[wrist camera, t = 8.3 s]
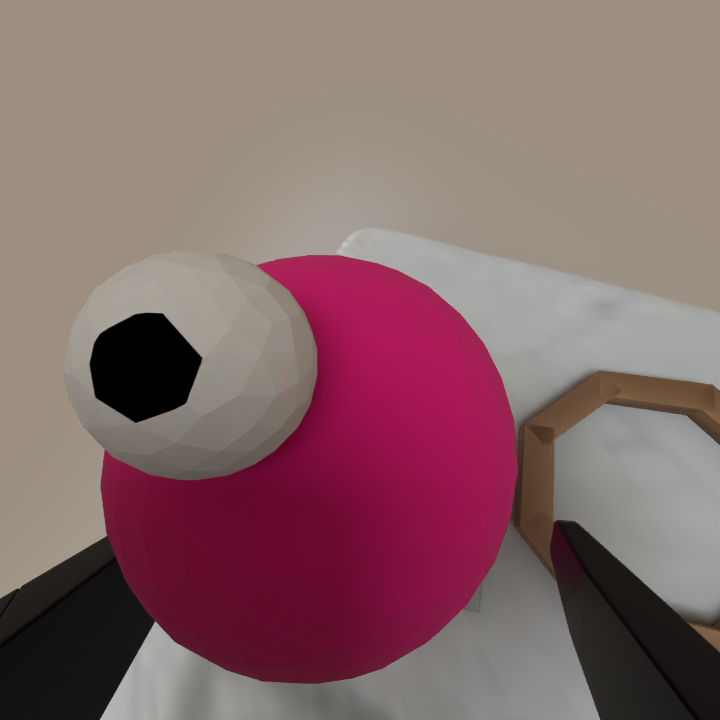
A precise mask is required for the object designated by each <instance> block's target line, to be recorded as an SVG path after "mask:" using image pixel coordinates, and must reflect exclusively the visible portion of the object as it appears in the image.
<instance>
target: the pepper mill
mask: <svg viewBox="0 0 720 720" xmlns="http://www.w3.org/2000/svg"><path fill="white" fill-rule="evenodd" d="M64 375H65V381H66V387H67V392H68V398H69V400H70V402H71V403H72V405H73V407H74V409H75V411H76V413H77V414H78V417H79V418H80V421H81V422H82V424H83V426H84V428H85V429H86V430H87V431H88V432H89V433H90V434H91V435H92V436H93V437H94V438H95V439H96V440H97V442H98V443H99V444H100V445H101V446H102V447H103V448H104V449H105V452H104V460H103V469H102V478H101V493H102V501H103V509H104V517H105V524H106V533H107V536H108V539H109V541H110V544H111V546H112V549H113V551H114V553H115V556H116V558H117V561H118V563H119V566H120V568H121V571H122V573H123V576H124V578H125V581H126V583H127V584H128V585H129V587H130V588H131V590H132V591H133V593H134V594H135V596H136V597H137V599H138V600H139V601H140V603H141V604H142V606H143V607H144V609H145V610H146V612H147V613H148V614H149V615H150V616H151V617H152V618H153V619H154V620H155V621H156V622H157V623H158V624H159V625H160V627H161V628H162V629H163V630H164V631H165V632H166V633H167V634H168V635H169V636H170V637H171V638H172V639H173V640H174V642H176V643H178V644H180V645H181V646H183V647H185V648H187V649H189V650H190V651H192V652H194V653H196V654H198V655H200V656H201V657H203V658H205V659H207V660H209V661H211V662H212V663H214V664H216V665H218V666H220V667H222V668H224V669H225V670H228V671H231V672H234V673H237V674H241V675H244V676H247V677H250V678H254V679H257V680H260V681H266V682H285V683H311V684H318V683H324V682H331V681H338V680H344V679H351V678H355V677H358V676H361V675H364V674H367V673H370V672H373V671H376V670H379V669H382V668H384V667H386V666H387V665H389V664H391V663H393V662H394V661H396V660H398V659H399V658H401V657H403V656H404V655H406V654H408V653H410V652H411V651H413V650H415V649H416V648H418V647H420V646H422V645H423V644H425V643H426V642H428V641H429V640H430V639H431V638H432V637H434V636H435V635H436V634H437V633H438V632H439V631H441V630H442V629H443V628H444V627H445V626H446V625H447V624H448V623H449V622H450V621H451V620H452V619H453V618H454V617H455V616H456V615H457V614H458V613H459V612H460V611H461V610H462V609H463V608H464V607H465V606H466V605H467V604H468V603H469V601H470V600H471V598H472V597H473V595H474V593H475V592H476V590H477V589H478V587H479V586H480V584H481V582H482V581H483V579H484V578H485V576H486V575H487V573H488V571H489V570H490V568H491V567H492V565H493V564H494V561H495V559H496V556H497V553H498V550H499V548H500V545H501V542H502V540H503V537H504V534H505V532H506V529H507V526H508V524H509V521H510V518H511V511H512V505H513V499H514V492H515V486H516V480H517V473H518V462H517V450H516V439H515V427H514V419H513V415H512V412H511V409H510V405H509V402H508V399H507V395H506V392H505V388H504V385H503V382H502V378H501V376H500V374H499V372H498V370H497V368H496V366H495V364H494V362H493V360H492V358H491V356H490V354H489V353H488V351H487V349H486V347H485V345H484V343H483V342H482V340H481V339H480V338H479V337H478V335H477V334H476V333H475V332H474V330H473V329H472V328H471V327H470V325H469V324H468V323H467V322H466V320H465V319H464V318H463V317H462V315H461V314H460V313H459V312H457V311H456V310H455V309H454V308H453V307H452V306H451V305H449V304H448V303H447V302H446V301H445V300H444V299H442V298H441V297H440V296H439V295H438V294H437V293H435V292H434V291H433V290H432V289H431V288H430V287H428V286H427V285H425V284H423V283H421V282H419V281H417V280H415V279H413V278H411V277H409V276H407V275H405V274H404V273H402V272H400V271H398V270H395V269H392V268H389V267H386V266H383V265H381V264H378V263H373V262H368V261H364V260H359V259H354V258H349V257H344V256H340V255H308V256H300V257H292V258H285V259H278V260H274V261H270V262H266V263H263V264H259V265H255V264H252V263H249V262H247V261H244V260H241V259H238V258H235V257H232V256H230V255H227V254H222V253H216V252H206V251H196V250H184V251H176V252H169V253H162V254H156V255H154V256H151V257H149V258H146V259H143V260H141V261H138V262H136V263H133V264H131V265H129V266H126V267H125V268H124V269H122V270H121V271H119V272H118V273H117V274H115V275H114V276H112V277H111V278H110V279H108V280H107V281H105V282H104V283H103V284H101V285H100V286H98V287H97V288H96V289H95V290H94V291H93V293H92V295H91V296H90V298H89V299H88V301H87V302H86V304H85V305H84V307H83V308H82V310H81V311H80V313H79V314H78V316H77V317H76V319H75V321H74V323H73V326H72V329H71V332H70V334H69V337H68V345H67V354H66V362H65V371H64Z"/></svg>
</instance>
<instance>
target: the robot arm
mask: <svg viewBox="0 0 720 720" xmlns="http://www.w3.org/2000/svg"><path fill="white" fill-rule="evenodd" d="M550 555H551V560H552V564H553V568H554V572H555V576H556V580H557V584H558V588H559V592H560V596H561V600H562V604H563V608H564V612H565V616H566V620H567V624H568V628H569V632H570V635H571V638H572V641H573V644H574V647H575V650H576V653H577V655H578V658H579V661H580V664H581V667H582V669H583V672H584V675H585V678H586V681H587V683H588V686H589V689H590V692H591V695H592V698H593V700H594V703H595V706H596V709H597V712H598V714H599V717H600V720H720V652H719V651H718V650H717V649H716V648H715V647H714V646H713V645H712V644H711V643H710V642H708V641H707V640H706V639H705V638H704V637H703V636H702V635H701V634H700V633H699V632H697V631H696V630H695V629H694V628H693V627H692V626H691V625H690V624H689V623H687V622H686V621H685V620H684V619H683V618H682V617H681V616H680V615H679V614H678V613H676V612H675V611H674V610H673V609H672V608H671V607H670V606H669V605H668V604H666V603H665V602H664V601H663V600H662V599H661V598H660V597H659V596H658V595H657V594H655V593H654V592H653V591H652V590H651V589H650V588H649V587H648V586H647V585H645V584H644V583H643V582H642V581H641V580H640V579H639V578H638V577H637V576H636V575H634V574H633V573H632V572H631V571H630V570H629V569H628V568H627V567H626V566H624V565H623V564H622V563H621V562H620V561H619V560H618V559H617V558H616V557H615V556H613V555H612V554H611V553H610V552H609V551H608V550H607V549H606V548H605V547H604V546H602V545H601V544H600V543H599V542H598V541H597V540H596V539H595V538H594V537H592V536H591V535H590V534H589V533H588V532H587V531H586V530H585V529H584V528H583V527H581V526H580V525H579V524H578V523H576V522H574V521H564V520H557V521H555V523H554V526H553V532H552V537H551V543H550ZM154 622H155V620H154V619H153V618H152V617H151V616H150V615H149V614H148V613H147V612H146V610H145V609H144V607H143V606H142V604H141V603H140V601H139V600H138V599H137V597H136V596H135V594H134V593H133V591H132V590H131V588H130V587H129V585H128V584H127V583H126V581H125V578H124V576H123V573H122V571H121V568H120V566H119V563H118V561H117V558H116V556H115V553H114V551H113V549H112V546H111V544H110V541H109V539H108V536H106V537H105V538H103V539H101V540H100V541H98V542H96V543H94V544H93V545H91V546H89V547H88V548H86V549H84V550H82V551H81V552H79V553H77V554H76V555H74V556H72V557H71V558H69V559H67V560H65V561H64V562H62V563H60V564H58V565H57V566H55V567H53V568H52V569H50V570H48V571H47V572H45V573H43V574H41V575H40V576H38V577H36V578H35V579H33V580H31V581H30V582H28V583H26V584H24V585H23V586H22V587H21V588H20V589H16V590H14V591H12V592H11V593H9V594H8V595H6V596H4V597H2V598H1V599H0V720H100V718H101V717H102V715H103V713H104V711H105V710H106V708H107V706H108V704H109V702H110V701H111V699H112V697H113V695H114V694H115V692H116V690H117V688H118V686H119V685H120V683H121V681H122V679H123V678H124V676H125V674H126V672H127V670H128V669H129V667H130V665H131V663H132V662H133V660H134V658H135V656H136V654H137V653H138V651H139V649H140V647H141V646H142V644H143V642H144V640H145V638H146V637H147V635H148V633H149V631H150V630H151V628H152V626H153V624H154Z"/></svg>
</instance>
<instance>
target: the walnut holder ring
mask: <svg viewBox="0 0 720 720" xmlns="http://www.w3.org/2000/svg"><path fill="white" fill-rule="evenodd" d="M604 403H606V404H613V405H620V406H627V407H634V408H641V409H648V410H654V411H661V412H668V413H675V414H682V415H687V416H688V417H689V418H690V419H692V420H693V421H694V422H695V423H696V424H697V425H698V426H700V427H701V428H702V429H703V430H704V431H705V432H706V433H707V434H709V435H710V436H711V437H712V438H713V439H714V440H715V441H717V442H718V443H719V444H720V390H718V389H717V388H716V387H715V386H713V385H710V384H703V383H695V382H687V381H679V380H671V379H663V378H655V377H647V376H639V375H631V374H623V373H615V372H608V371H598V372H597V373H596V374H594V375H593V376H591V377H590V378H589V379H587V380H586V381H584V382H583V383H582V384H580V385H579V386H577V387H576V388H575V389H573V390H572V391H570V392H569V393H568V394H566V395H565V396H563V397H562V398H561V399H559V400H558V401H556V402H555V403H553V404H552V405H551V406H549V407H548V408H546V409H545V410H544V411H542V412H541V413H539V414H538V415H537V416H535V417H534V418H532V419H531V420H530V421H528V422H527V423H525V424H524V425H523V426H522V427H520V436H519V454H518V473H517V490H516V509H515V527H516V529H517V530H518V531H519V533H520V534H521V535H522V537H523V538H524V539H525V541H526V542H527V543H528V544H529V546H530V547H531V548H532V550H533V551H534V552H535V554H536V555H537V556H538V558H539V559H540V560H541V562H542V563H543V564H544V566H545V567H546V568H547V569H548V571H549V572H550V573H551V575H552V576H553V577H554V579H555V580H556V576H555V572H554V568H553V564H552V560H551V555H550V543H551V537H552V532H553V526H554V522H553V477H554V439H556V438H557V437H559V436H560V435H561V434H563V433H564V432H566V431H567V430H568V429H570V428H571V427H572V426H574V425H575V424H577V423H578V422H579V421H581V420H582V419H584V418H585V417H586V416H588V415H589V414H590V413H592V412H593V411H595V410H596V409H597V408H599V407H600V406H601V405H603V404H604ZM556 581H557V580H556ZM685 621H686V622H687V623H689V624H690V625H691V626H692V627H693V628H694V629H695V630H696V631H697V632H699V633H700V634H701V635H702V636H703V637H704V638H705V639H706V640H707V641H708V642H710V643H711V644H712V645H713V646H714V647H715V648H716V649H717V650H718V651H719V652H720V620H718V621H717V622H716V623H715V624H713V625H712V626H707V625H703V624H700V623H696V622H692V621H688V620H685Z"/></svg>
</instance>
